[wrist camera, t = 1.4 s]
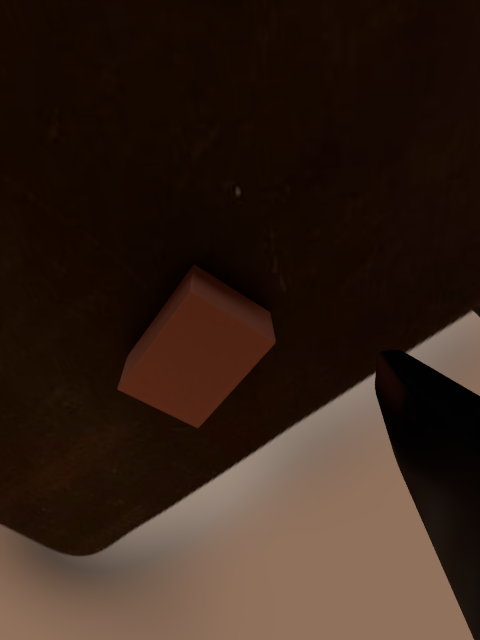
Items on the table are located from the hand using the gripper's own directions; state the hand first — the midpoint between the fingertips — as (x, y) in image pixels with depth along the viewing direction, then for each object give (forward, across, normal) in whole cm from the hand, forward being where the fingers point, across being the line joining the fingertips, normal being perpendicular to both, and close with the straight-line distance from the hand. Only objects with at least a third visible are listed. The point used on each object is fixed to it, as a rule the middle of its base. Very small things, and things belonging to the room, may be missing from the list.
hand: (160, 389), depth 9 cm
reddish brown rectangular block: (+14, +1, +7) cm, 15 cm away
